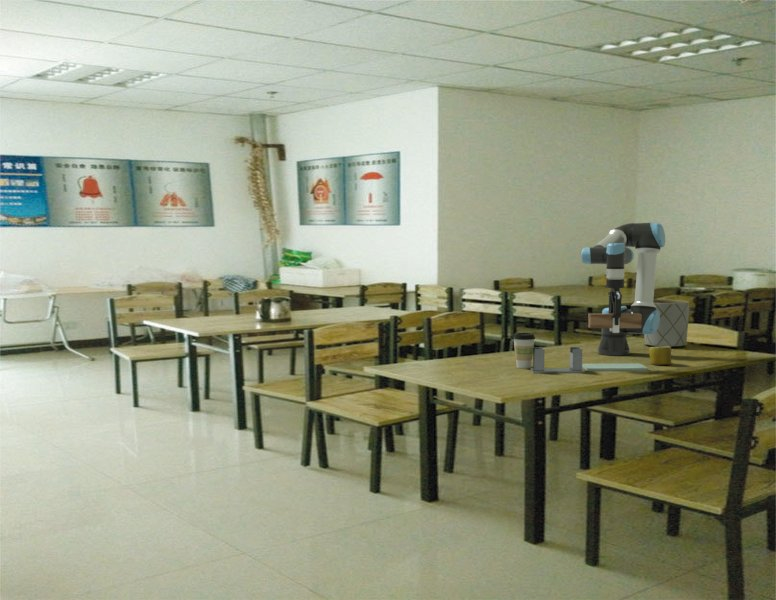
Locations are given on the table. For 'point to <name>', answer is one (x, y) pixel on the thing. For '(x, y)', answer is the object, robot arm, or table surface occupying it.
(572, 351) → the standards
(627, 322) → the rail
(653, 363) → the mug
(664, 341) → the planter
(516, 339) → the coffee cup
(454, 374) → the table surface
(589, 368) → the mat
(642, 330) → the robot arm
